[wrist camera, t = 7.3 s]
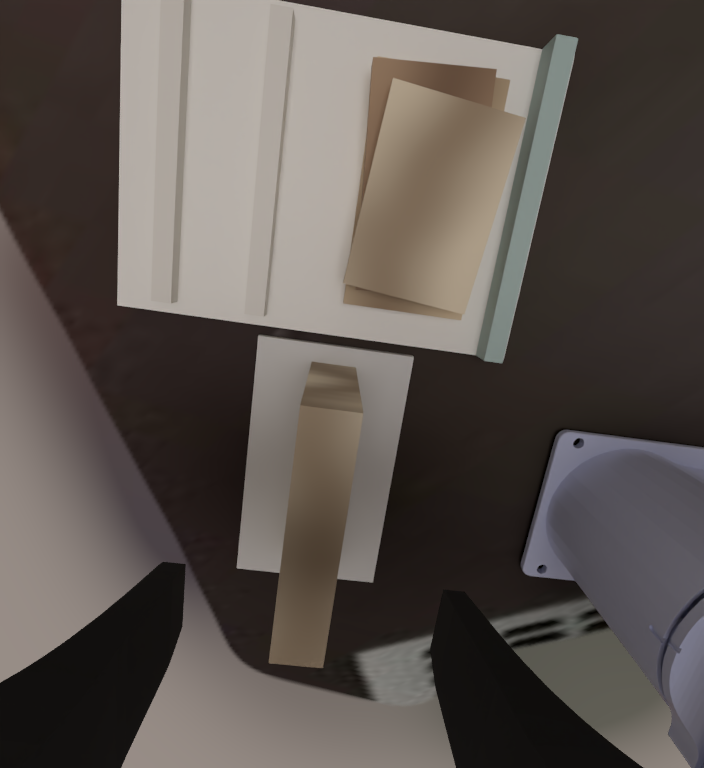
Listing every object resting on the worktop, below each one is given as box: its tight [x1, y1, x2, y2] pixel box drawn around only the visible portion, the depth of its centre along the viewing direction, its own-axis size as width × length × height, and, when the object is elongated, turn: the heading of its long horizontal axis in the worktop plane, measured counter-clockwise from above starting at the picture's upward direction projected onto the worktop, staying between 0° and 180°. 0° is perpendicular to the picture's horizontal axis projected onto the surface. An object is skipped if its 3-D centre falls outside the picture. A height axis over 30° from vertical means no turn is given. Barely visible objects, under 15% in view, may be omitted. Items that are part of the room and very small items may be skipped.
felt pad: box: [237, 334, 414, 583], centre depth 22 cm, size 7×12×1 cm, turn 172°
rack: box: [117, 0, 578, 363], centre depth 18 cm, size 17×12×2 cm
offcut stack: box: [343, 56, 526, 320], centre depth 18 cm, size 6×9×2 cm, turn 172°
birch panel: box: [269, 362, 363, 668], centre depth 19 cm, size 2×10×6 cm, turn 172°
